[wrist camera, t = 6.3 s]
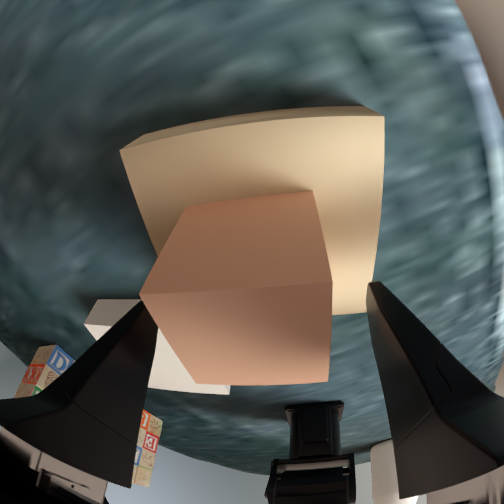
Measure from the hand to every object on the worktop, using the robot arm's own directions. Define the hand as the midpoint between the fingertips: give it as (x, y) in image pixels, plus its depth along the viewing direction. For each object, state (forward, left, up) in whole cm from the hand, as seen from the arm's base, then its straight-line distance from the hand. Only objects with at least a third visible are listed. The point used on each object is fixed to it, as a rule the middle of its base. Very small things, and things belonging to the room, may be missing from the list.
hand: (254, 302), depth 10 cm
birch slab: (0, 0, -6) cm, 6 cm away
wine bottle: (-52, -18, -6) cm, 55 cm away
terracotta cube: (0, 0, -3) cm, 3 cm away
